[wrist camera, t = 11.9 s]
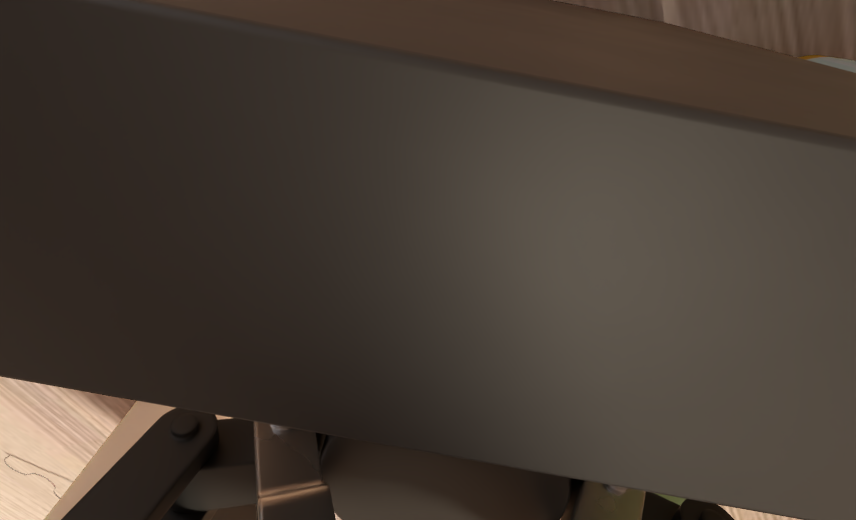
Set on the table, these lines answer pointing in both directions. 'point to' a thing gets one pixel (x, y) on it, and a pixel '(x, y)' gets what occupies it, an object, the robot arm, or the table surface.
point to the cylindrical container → (111, 453)
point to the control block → (237, 513)
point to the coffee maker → (443, 233)
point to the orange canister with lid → (433, 486)
